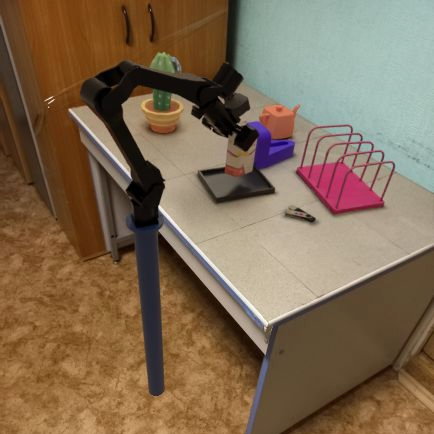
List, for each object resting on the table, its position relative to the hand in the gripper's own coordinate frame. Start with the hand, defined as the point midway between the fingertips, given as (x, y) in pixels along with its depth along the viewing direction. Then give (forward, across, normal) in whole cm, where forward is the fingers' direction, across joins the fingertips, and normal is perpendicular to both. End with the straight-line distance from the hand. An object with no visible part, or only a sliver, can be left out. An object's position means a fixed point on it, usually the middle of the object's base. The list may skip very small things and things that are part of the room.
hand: (242, 143), depth 123 cm
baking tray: (+9, 0, +10) cm, 13 cm away
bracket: (+24, +7, -5) cm, 25 cm away
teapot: (+34, +19, -16) cm, 42 cm away
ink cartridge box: (+6, -1, +7) cm, 9 cm away
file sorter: (+27, -20, -8) cm, 34 cm away
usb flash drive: (+11, -24, +7) cm, 27 cm away
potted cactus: (+10, +45, +8) cm, 47 cm away
